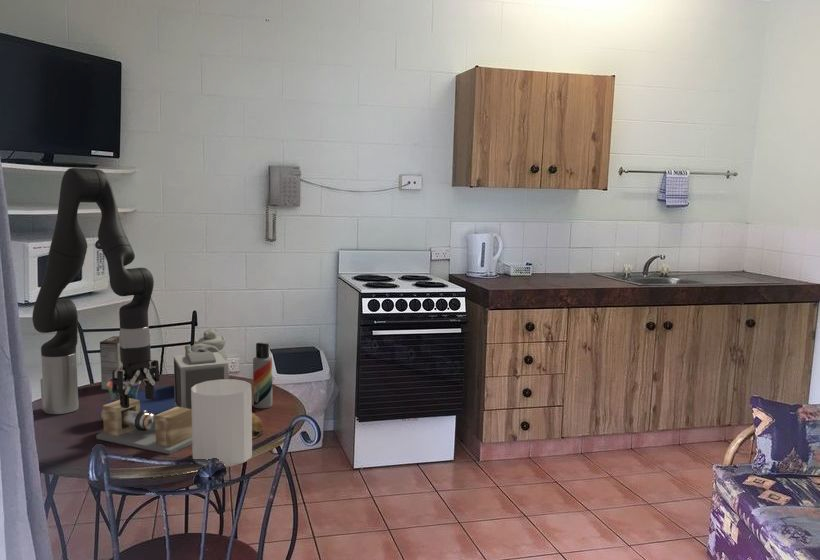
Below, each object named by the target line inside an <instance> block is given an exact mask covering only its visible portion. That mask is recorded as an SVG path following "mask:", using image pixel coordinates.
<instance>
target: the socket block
mask: <svg viewBox="0 0 820 560" xmlns="http://www.w3.org/2000/svg"><path fill="white" fill-rule="evenodd" d="M154 415H155V435H156V444H159V445H164V446H169V447H172V446H174V445H176V444H178V443H181V442H183V441H185V440H187V439H189V438H191V437H192V409H187V408H182V407H175V406H174V407H172V408H170V409H168V410H165V411H162V412H160V413H157V414H154Z"/></svg>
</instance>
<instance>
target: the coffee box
mask: <svg viewBox="0 0 820 560" xmlns="http://www.w3.org/2000/svg"><path fill="white" fill-rule="evenodd" d="M99 352H100V353H99V355H100V356H99V357H100V379H101V390H105V391H109V390H108V388H107V387H106V383H108V382H110V381H112V372H113V370H122V368H123V364H122V362H121V361H120V341H119V335H118V336H114V335H113V336H111V337H108V338H107V339H103V340H102V341H100V342H99Z"/></svg>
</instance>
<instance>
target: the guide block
mask: <svg viewBox="0 0 820 560" xmlns="http://www.w3.org/2000/svg"><path fill="white" fill-rule="evenodd" d="M126 409H127V410H132V411H137V412H140V411H141V401H140V399H137V400H136V399H131V398H129V408H122V407H121V405H120V400H118V401H115V402H110V403H109V402H108V403H106V404H104V405H102V410H103V419H102V421H103V432H104V433H106V434H111V435H116V436H119V435H122V434H124V433H127V432H129V431H132V430H134V429H136V427H134V426H129V425H124V424H122V420H121V411H123V410H126Z"/></svg>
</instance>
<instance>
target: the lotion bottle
mask: <svg viewBox="0 0 820 560" xmlns="http://www.w3.org/2000/svg"><path fill="white" fill-rule="evenodd" d="M269 351H270V344H269V343H266V342H256V344H255V357H253V359H252V371H253V372H252V378H253V383H252V385H253V390H252V391H253V392H252V393H253V407H254V408H257V409H269V408H271V407H272V406H273V358H272V357H271V356H270V352H269Z"/></svg>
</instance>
